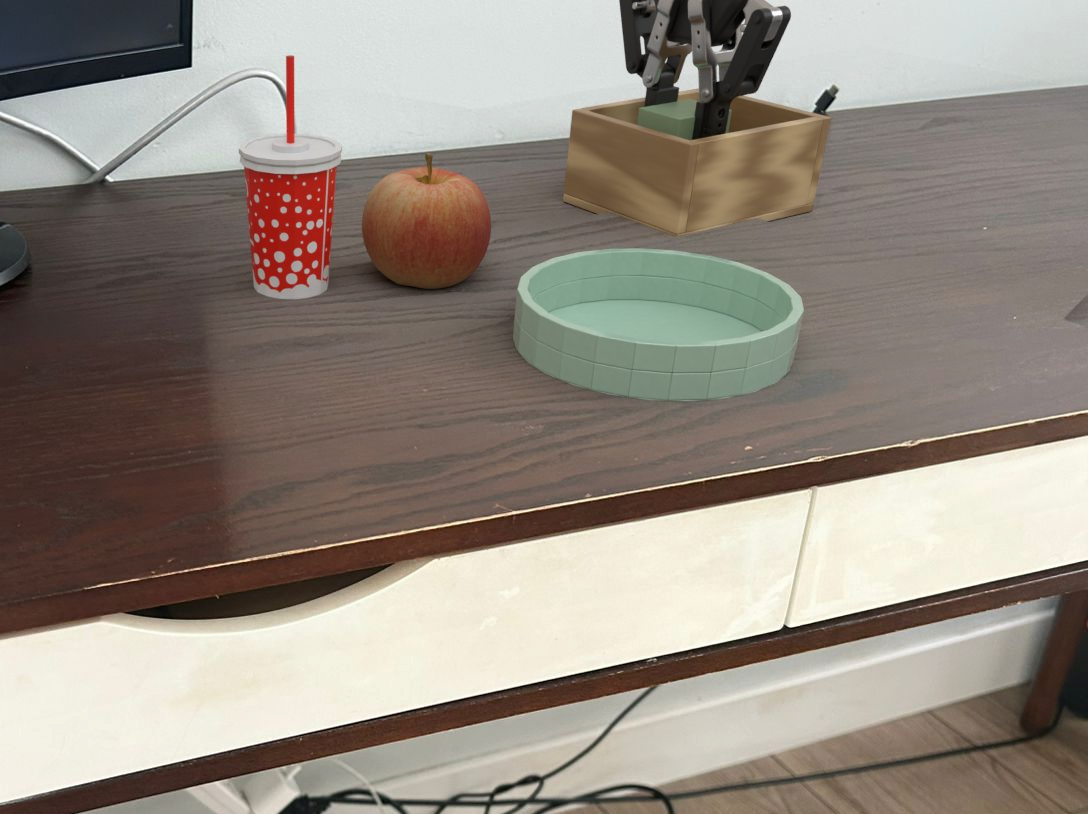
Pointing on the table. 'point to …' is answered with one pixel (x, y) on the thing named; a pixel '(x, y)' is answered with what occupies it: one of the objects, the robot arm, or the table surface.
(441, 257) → the apple
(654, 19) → the robot arm
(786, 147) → the box
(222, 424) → the table surface
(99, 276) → the table surface
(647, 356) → the bowl
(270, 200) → the beverage cup
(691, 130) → the green rectangular block
